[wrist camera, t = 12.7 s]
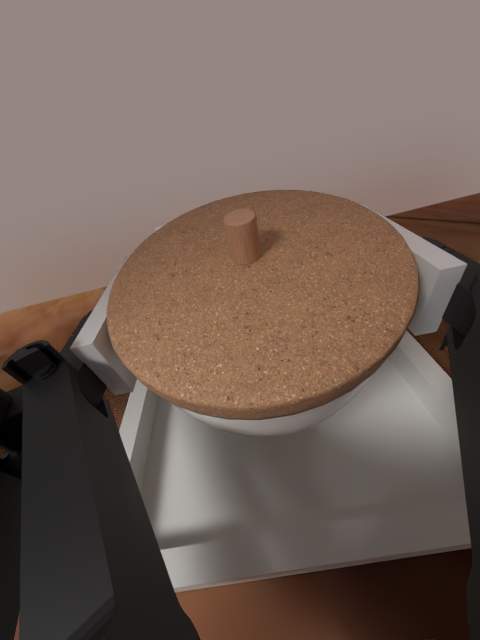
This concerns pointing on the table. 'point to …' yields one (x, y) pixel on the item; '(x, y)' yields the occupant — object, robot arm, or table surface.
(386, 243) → the lidded jar
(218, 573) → the pusher lane
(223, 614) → the table surface
